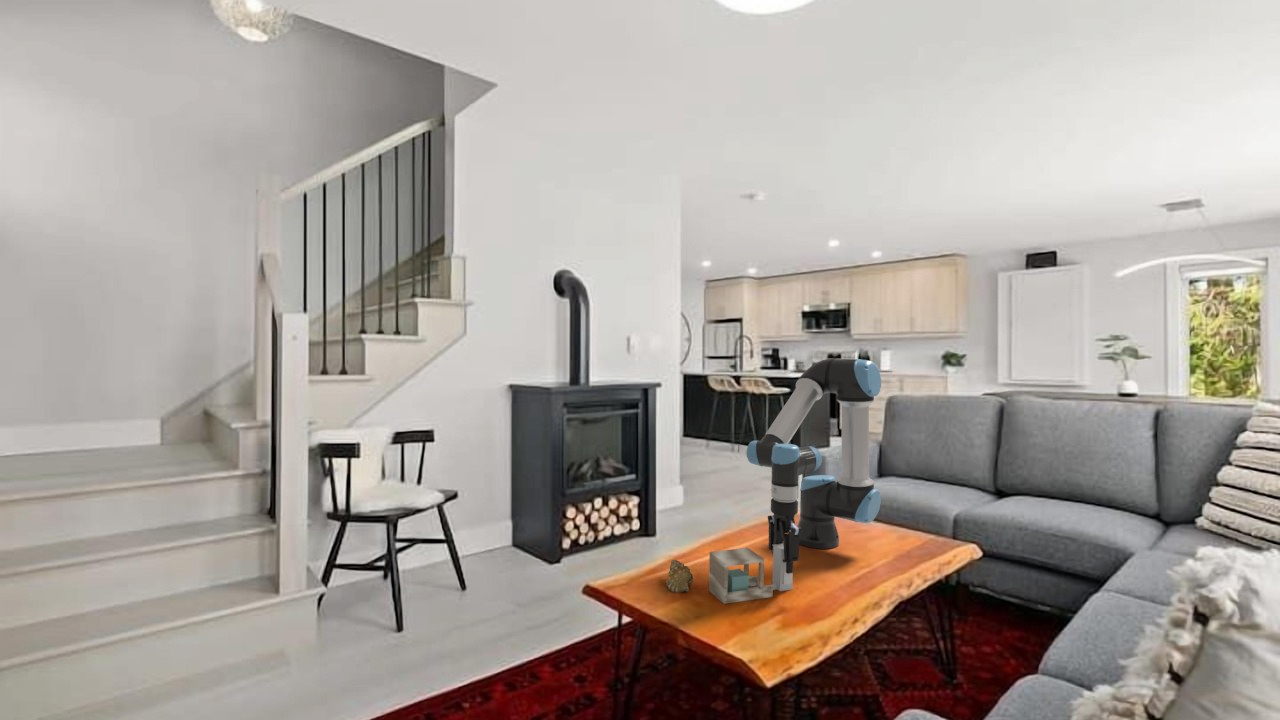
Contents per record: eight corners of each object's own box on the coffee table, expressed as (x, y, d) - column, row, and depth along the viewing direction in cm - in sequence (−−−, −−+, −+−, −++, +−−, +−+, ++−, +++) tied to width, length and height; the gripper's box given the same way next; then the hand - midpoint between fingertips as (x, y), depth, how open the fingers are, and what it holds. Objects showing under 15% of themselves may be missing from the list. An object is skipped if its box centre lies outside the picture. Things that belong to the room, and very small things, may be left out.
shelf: (755, 584, 177) (756, 546, 177) (772, 596, 168) (773, 557, 168) (708, 590, 172) (709, 551, 171) (723, 603, 163) (724, 563, 163)
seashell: (659, 595, 176) (658, 559, 180) (684, 596, 179) (682, 560, 183) (674, 591, 168) (672, 553, 173) (700, 592, 171) (697, 555, 176)
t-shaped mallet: (783, 583, 178) (784, 542, 177) (793, 590, 173) (794, 548, 173) (723, 591, 171) (724, 549, 171) (731, 599, 166) (732, 555, 166)
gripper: (757, 492, 181) (755, 571, 181) (790, 508, 165) (788, 593, 165) (779, 491, 183) (777, 568, 184) (813, 505, 167) (811, 590, 168)
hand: (782, 580), depth 175 cm, fingers closed on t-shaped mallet, 4 cm apart
